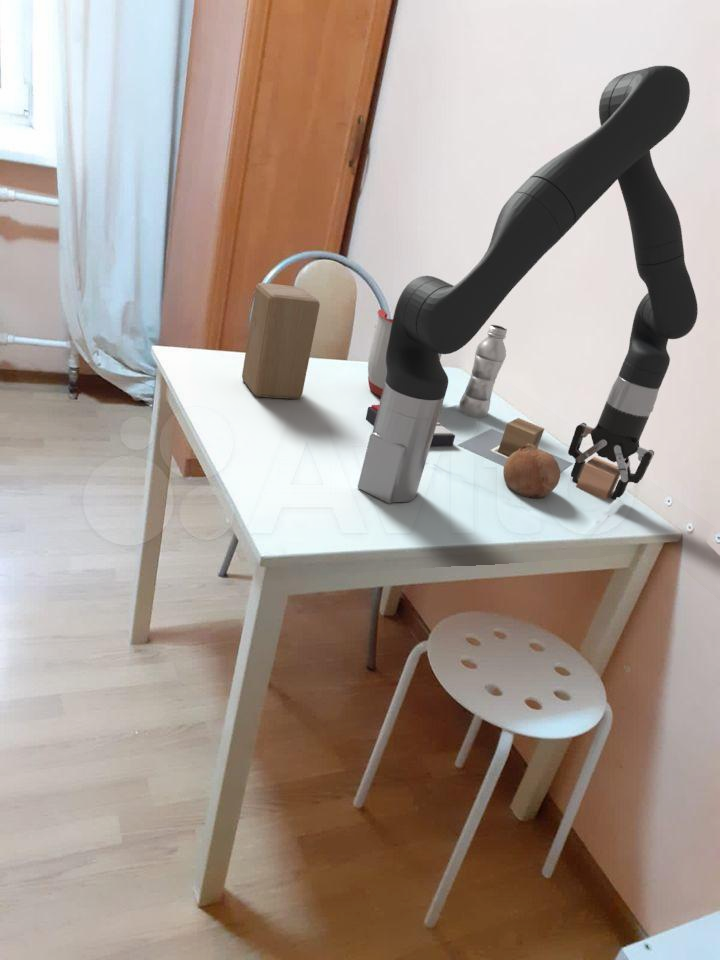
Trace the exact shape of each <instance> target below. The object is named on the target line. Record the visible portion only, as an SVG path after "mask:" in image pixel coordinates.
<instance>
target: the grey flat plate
mask: <svg viewBox="0 0 720 960" xmlns="http://www.w3.org/2000/svg"><path fill="white" fill-rule="evenodd" d="M503 435H504V432H501V431H499V430H496V429H494V428H489V429H488V430H486V431H483V432H482V433H481V432H480V433H479V434H477V435H475V436H473V437H471V438H468V439H467V440H465V441H462V442H460V443H458V444H457V446H458V447H460V448H462V449H464V450H467V451H468V452H471V453H473V454H475V455H478V456H480V457H483V458H485V459H487V460H488V461H490V462H493V463H495V464H498V465H500V466H502V467H504V465H505V462H506V460H507V459H508V458H509V457H508V456H506V455H504V454H501V453H499V452H498V449H499V446H500V443H501V440H502V438H503ZM537 449H539V450H542V451H544V452H547V453H549V454H551V455H552V456H553V457H554V459H555V460H556V461H557V463H558V465H559V469H560V474H561V473H563V471H565V470H566V469H568V468H569V467H571V466H572V465H574V463H573V462H570V461H568V460H566V459H564V458H561V457H559V456H557V455H554V454H552V453H550V452H548V451H545V450H543V449H540V448H539V447H538V448H537Z"/></svg>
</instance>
